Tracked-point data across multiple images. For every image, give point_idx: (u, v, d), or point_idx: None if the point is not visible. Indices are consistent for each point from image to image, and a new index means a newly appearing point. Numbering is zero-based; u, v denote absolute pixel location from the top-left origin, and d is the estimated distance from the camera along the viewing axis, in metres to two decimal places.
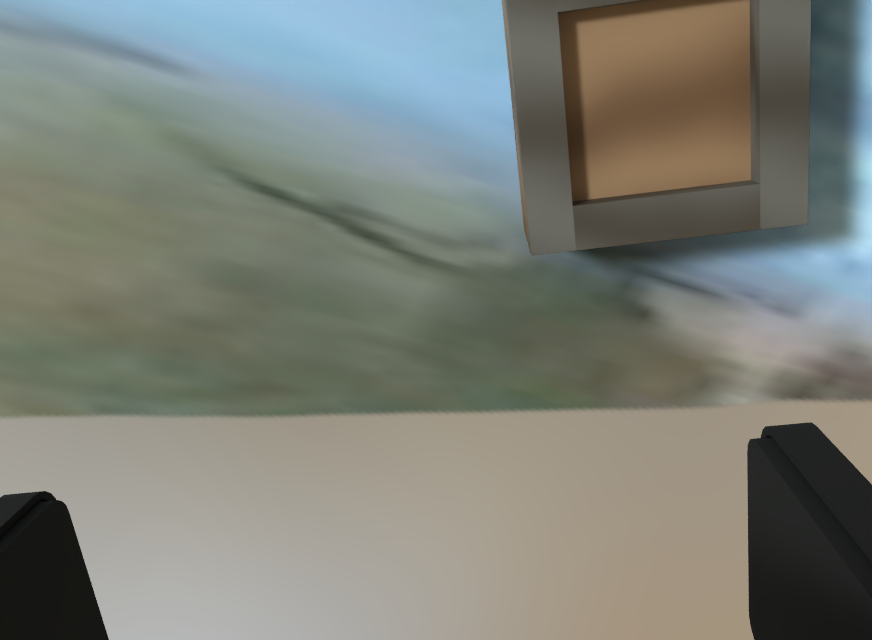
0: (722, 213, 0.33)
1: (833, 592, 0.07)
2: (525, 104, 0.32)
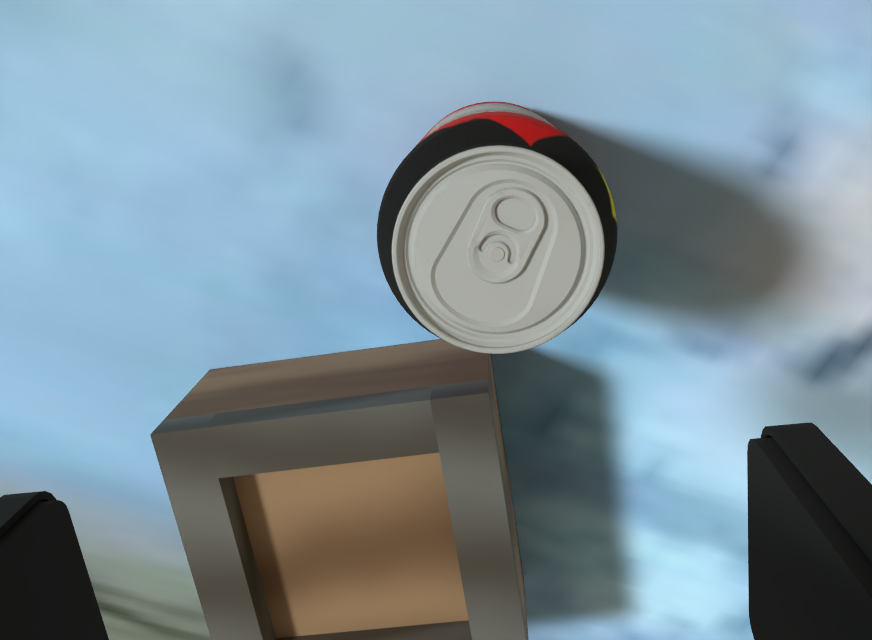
0: None
1: (833, 592, 0.07)
2: (198, 565, 0.29)
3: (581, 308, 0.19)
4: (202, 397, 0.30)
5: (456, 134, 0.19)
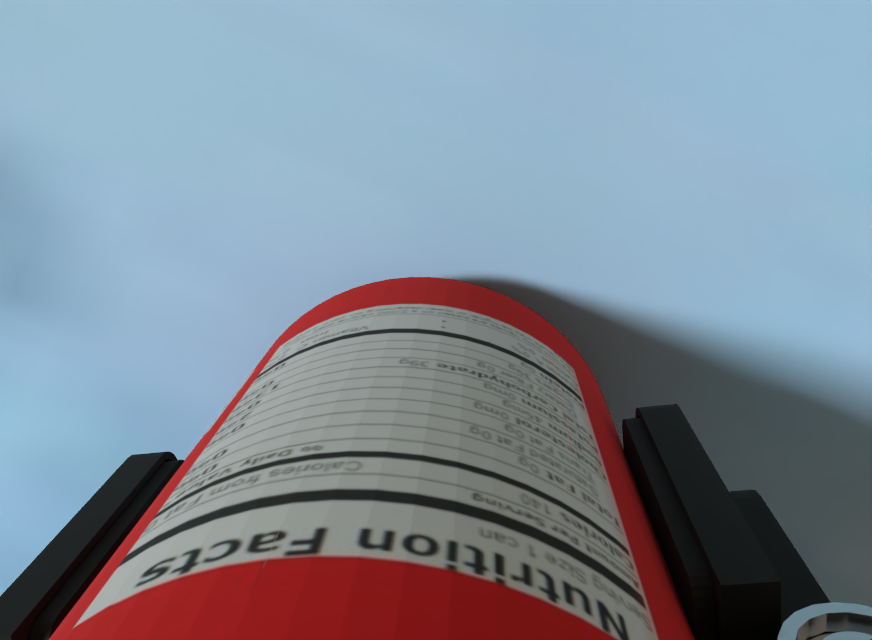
0: None
1: (663, 550, 0.08)
2: None
3: None
4: None
5: None
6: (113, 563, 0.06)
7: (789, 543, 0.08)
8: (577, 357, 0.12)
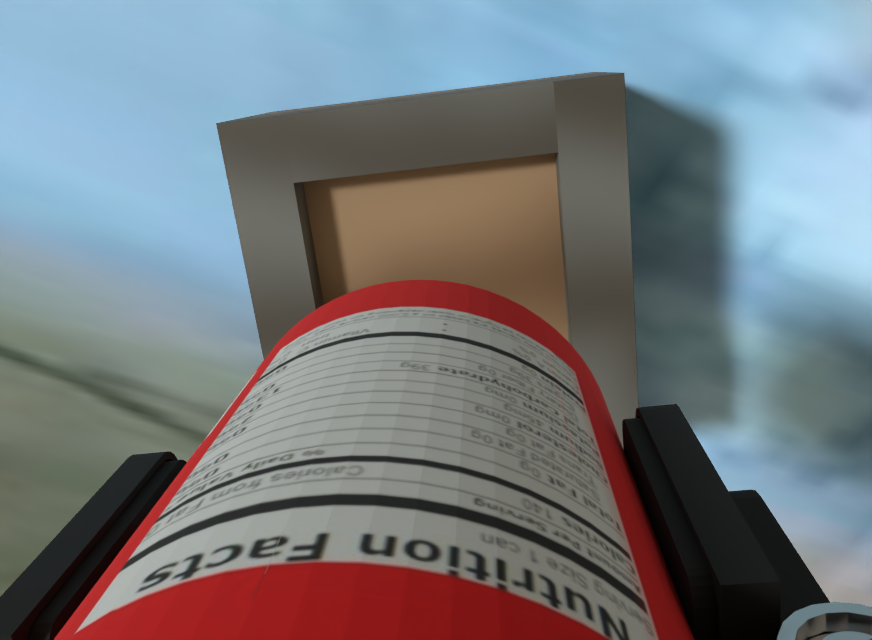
0: None
1: (663, 550, 0.08)
2: (262, 297, 0.24)
3: None
4: (270, 114, 0.26)
5: None
6: (115, 568, 0.06)
7: (789, 543, 0.08)
8: (578, 359, 0.12)
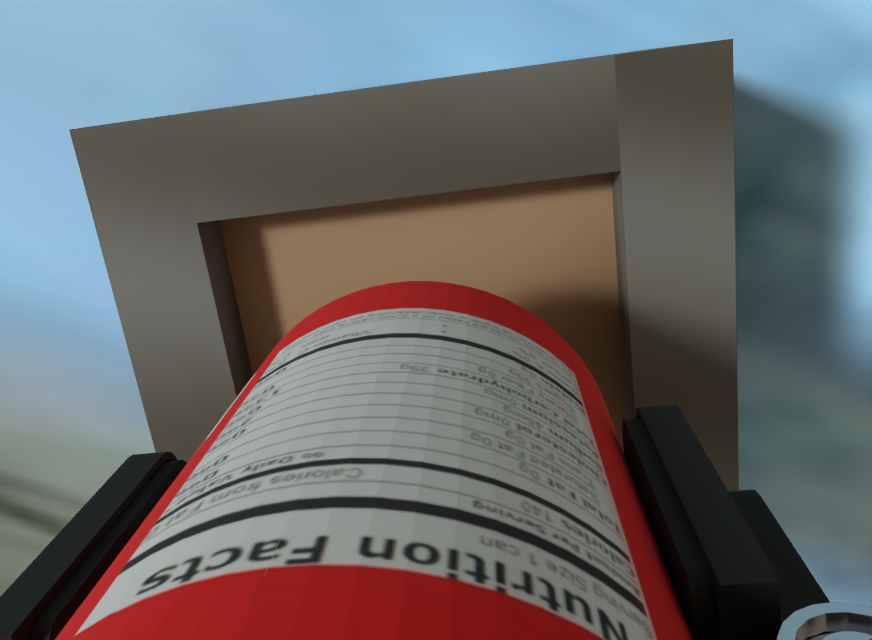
0: None
1: (663, 550, 0.08)
2: (158, 397, 0.16)
3: None
4: None
5: None
6: (114, 570, 0.06)
7: (789, 543, 0.08)
8: (578, 361, 0.12)
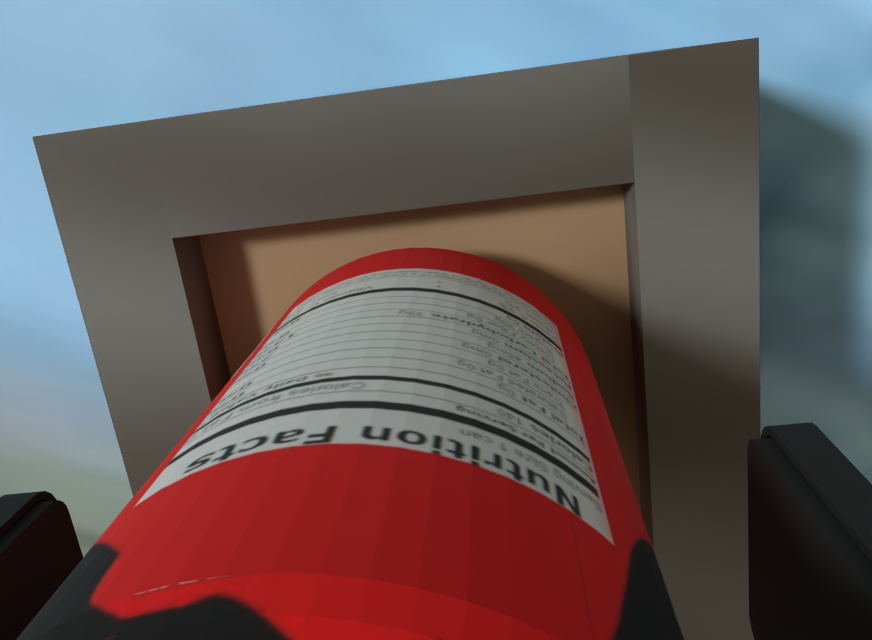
0: None
1: (833, 592, 0.07)
2: (132, 425, 0.15)
3: None
4: None
5: None
6: (160, 467, 0.08)
7: None
8: (561, 318, 0.13)
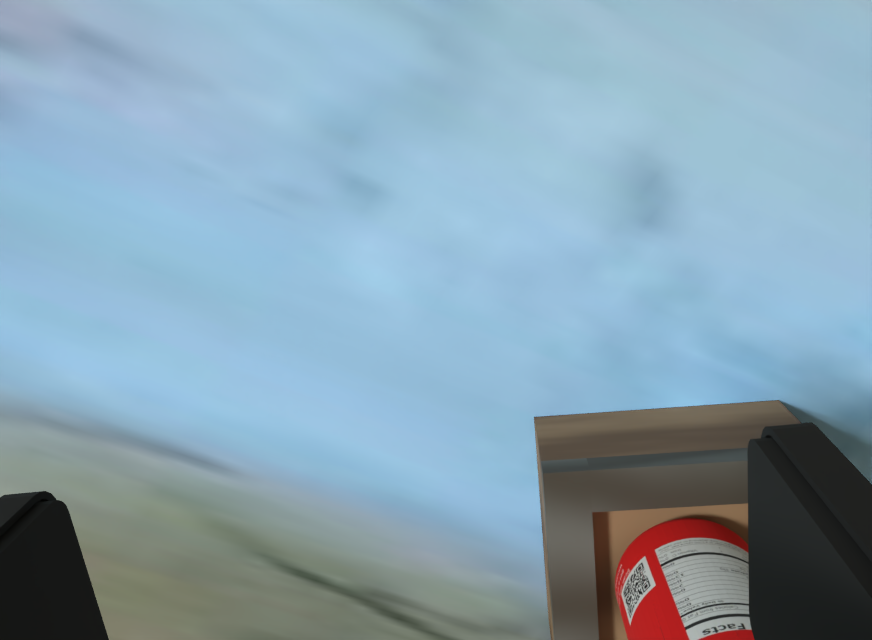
0: None
1: (833, 592, 0.07)
2: (559, 584, 0.34)
3: None
4: (556, 442, 0.36)
5: None
6: (679, 628, 0.27)
7: None
8: None
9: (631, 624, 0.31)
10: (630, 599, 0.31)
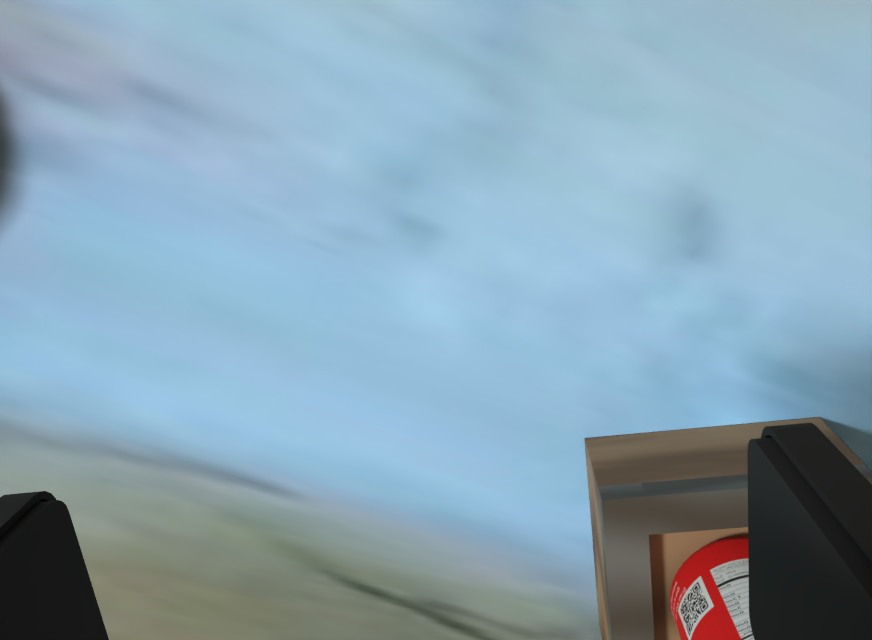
0: None
1: (833, 592, 0.07)
2: (617, 600, 0.36)
3: None
4: (610, 466, 0.37)
5: None
6: None
7: None
8: None
9: None
10: (688, 617, 0.33)
